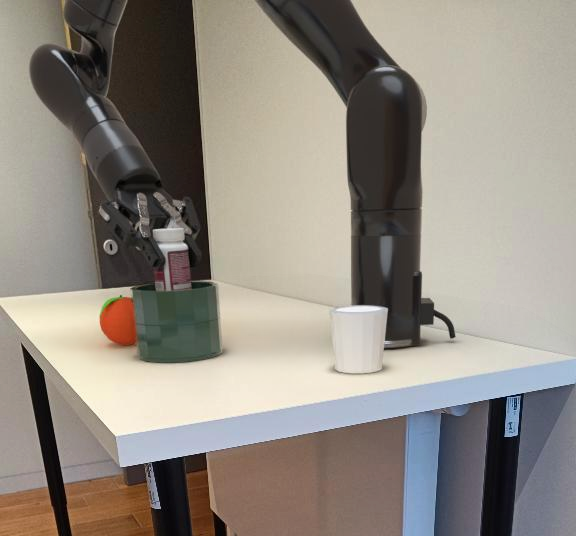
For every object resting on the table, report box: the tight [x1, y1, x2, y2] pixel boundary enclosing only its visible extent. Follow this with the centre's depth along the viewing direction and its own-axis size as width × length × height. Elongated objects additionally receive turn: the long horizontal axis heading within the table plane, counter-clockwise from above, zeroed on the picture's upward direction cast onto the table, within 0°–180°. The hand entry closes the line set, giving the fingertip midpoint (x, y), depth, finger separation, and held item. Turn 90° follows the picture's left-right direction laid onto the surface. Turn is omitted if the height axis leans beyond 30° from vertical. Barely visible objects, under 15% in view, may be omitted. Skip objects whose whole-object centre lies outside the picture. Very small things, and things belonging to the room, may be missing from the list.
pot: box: [129, 280, 223, 364], centre depth 101 cm, size 11×11×9 cm
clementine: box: [99, 294, 136, 346], centre depth 109 cm, size 8×7×7 cm
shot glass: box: [328, 305, 388, 375], centre depth 89 cm, size 7×7×7 cm
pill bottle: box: [152, 228, 192, 291], centre depth 98 cm, size 5×5×8 cm
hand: (179, 264), depth 97 cm, fingers closed on pill bottle, 4 cm apart
